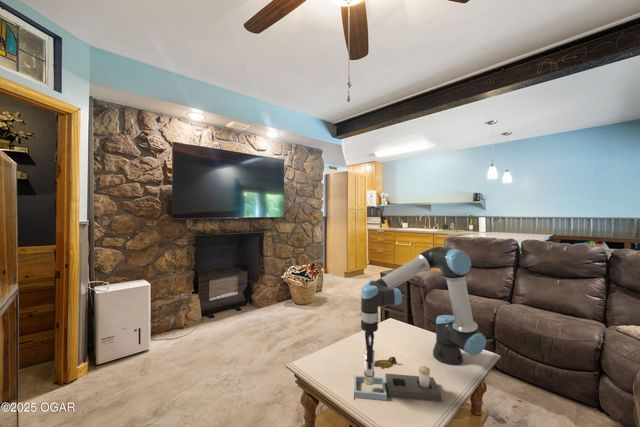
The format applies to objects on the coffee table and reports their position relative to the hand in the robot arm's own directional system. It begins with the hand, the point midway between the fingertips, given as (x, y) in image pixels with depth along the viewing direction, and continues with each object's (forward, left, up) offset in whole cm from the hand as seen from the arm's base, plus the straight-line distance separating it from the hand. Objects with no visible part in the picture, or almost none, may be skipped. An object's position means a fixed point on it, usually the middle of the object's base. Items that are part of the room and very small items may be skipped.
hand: (369, 371), depth 120 cm
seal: (-9, -22, -10) cm, 26 cm away
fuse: (-25, -3, -8) cm, 26 cm away
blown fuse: (0, 0, -5) cm, 5 cm away
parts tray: (0, 0, -9) cm, 9 cm away
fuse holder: (-19, -3, -9) cm, 21 cm away
